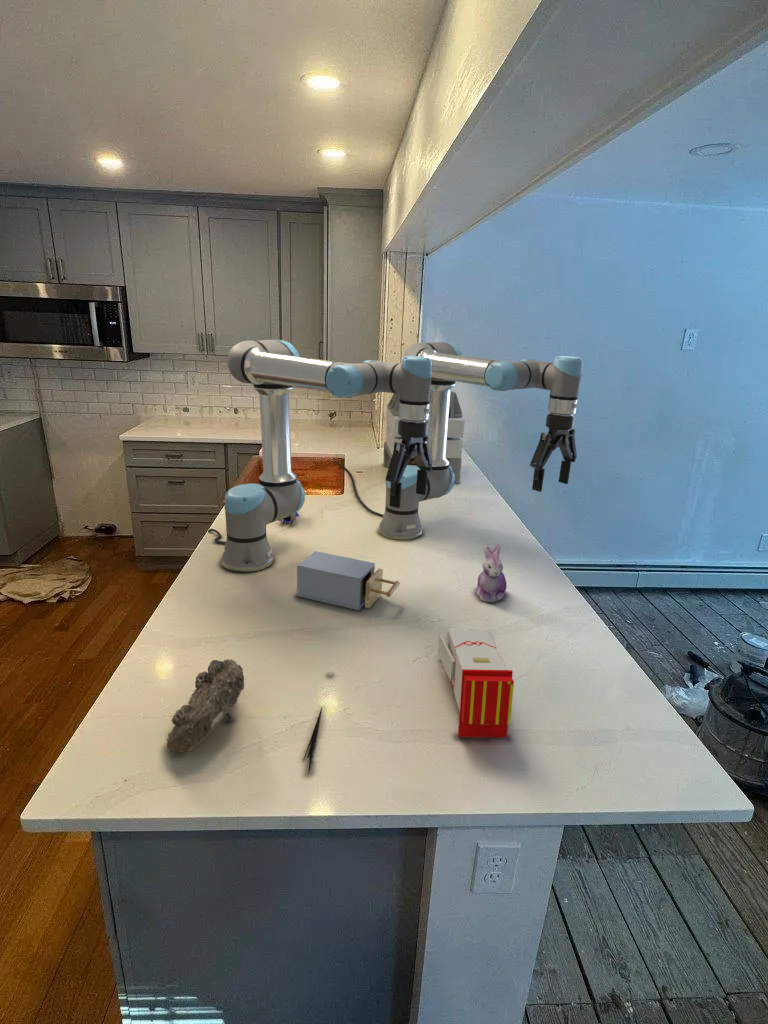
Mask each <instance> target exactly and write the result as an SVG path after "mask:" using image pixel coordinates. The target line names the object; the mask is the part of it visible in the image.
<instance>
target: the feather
mask: <svg viewBox="0 0 768 1024" xmlns="http://www.w3.org/2000/svg"><path fill="white" fill-rule="evenodd" d="M329 675H330V676H331V675H332V674H331V673H330V674H329ZM322 710H323V707H321V708H320V710H319V713H318V716H317V719H316V723H315V725H314V728H313V731H312V733H311V737H310V739H309V742H308V745H307V748H306V751H305V754H304V757H303V760H302V763H301V767H302V765H303V763H304V761H305V758H308V759H309V760H308V762H307V763H308V764H307V766H308V771H310V770H311V766H312V765H311V764H312V760H313V757H315V756H314V755H315V751H316V749H315V746H317V739H318V733H319V729H320V722H321V717H322V712H323V711H322ZM313 754H314V755H313ZM306 755H307V757H306Z"/></svg>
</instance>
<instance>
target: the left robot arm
mask: <svg viewBox="0 0 768 1024" xmlns="http://www.w3.org/2000/svg"><path fill="white" fill-rule="evenodd" d="M226 363H227V368H228V370H229V372H230V374H231V376H232V377H233V378H234V379H235V380H237V381H238V382H241V383H244V384H249V385H253V389H254V390H255V391H256V392H257V393H258V395H259V411H260V433H261V450H262V469H263V471H262V473H261V474H260V475H259V476H258V483H254V482H253V483H252V482H251V483H246V484H245V483H241V484H237V485H235V486H233V487H231V488H230V489H228V490H227V491H226V492H225V496H224V507H223V508H224V513H225V515H224V516H225V527H226V529H225V530H226V531H225V532H226V540H225V541H223V540H219V539H221V538H222V534H221V533H220V531H218V530H217V529H215V528H210V529H208V530H207V532H208V533H210V532H214V533H215V534H217V536H216V537H215V538H214V542H215V543H217V544H224V548H223V552H222V555H221V565H222V566H223V567H224V568H225V569H226V570H229V571H232V572H237V573H252V572H257V571H261V570H264V569H267V568H268V567H270V566H271V565H272V564H273V563H274V553H273V549H272V548H271V546H270V542H269V540H268V537H267V525H269V524H271V523H275V522H278V520H280V519H282V520H284V519H283V518H286V517H290V516H292V515H293V514H295V513H297V512H300V510H301V509H302V508H303V506H304V504H305V500H306V492H305V489H304V487H303V486H302V483H301V482H300V481H299V480H298V478H297V474H295V473H294V471H293V470H292V447H291V445H292V444H291V443H292V442H291V419H290V417H291V416H290V415H291V414H290V392H292V391H293V389H294V388H299V389H306V390H311V391H317V392H322V393H323V392H324V393H330V394H331V395H332V396H334V397H335V398H338V399H351V398H354V397H359V396H364V395H371V394H377V393H387V394H394V393H395V394H400V403H399V418H400V419H401V420H399V421H398V434H399V435H400V436H401V437H402V441H401V443H397V442H395V444H394V451H393V455H392V458H391V461H390V465H389V467H388V468H387V471H386V475H385V482H386V481H388V482H390V483H391V487H390V506H392V507H396V508H400V502H401V485H402V483H400V480H401V478H402V475H403V473H404V471H405V468H406V466H407V464H408V461H410V460H411V459H412V457H415V460H416V462H417V464H418V467H419V469H421V470H417V483H416V493H417V494H421V495H426V485H427V471H431V470H432V459H431V453H430V448H429V436H427V433H428V422H427V421H426V420H427V419H428V416H429V412H430V409H429V402H430V389H431V379H432V361H431V359H430V358H428V357H423V356H404V357H403V356H402V357H401V362H391V361H390V362H389V361H384V360H379V359H367V360H364V361H363V362H359V363H358V362H357V363H349V362H342V361H332V360H327V359H320V358H319V359H318V358H311V357H304V356H300V354H299V351H298V350H297V348H295V347H294V345H293V344H292V343H290V342H289V341H287V340H283V339H261V340H260V339H259V340H243V341H240V342H238V343H237V344H235V345H233V347H232V348H231V349H230V350H229V353H228V356H227V361H226ZM427 461H428V462H427Z"/></svg>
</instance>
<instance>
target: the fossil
mask: <svg viewBox="0 0 768 1024" xmlns="http://www.w3.org/2000/svg"><path fill="white" fill-rule="evenodd" d="M243 670H244V669H243V667H242V665H240V664H237V662H236V661H235V660H234V659H232V658H231V659H227V658H226V659H224V660H223V661H222V660H217V659H212V660H211V661H210V663H209V665H208V666H207V671H201V672H199V673H198V674H197V675H196V676H195V680H194V684H195V685H194V687H195V689H194V690H193V693H192V694H191V697H190V698H189V700H188V704H184V705H182V706H181V707H180V709H177V710H176V711H175V713H174V715H173V716H172V718H171V723H172V724H173V727H172V730H171V731H170V732H168V734H167V738H166V741H167V742H166V745H167V749H168V750H169V751H173V752H174V753H176V754H178V753H182V752H188V751H189V752H192V751H193V750H195V748H196V747H197V746H199V744H200V743H201V742H203V741H204V740H205V739H206V738H207V737H208V736H209V735H210V734H211V733H212V732H214V730H215V729H217V727H218V726H219V724H220V722H221V721H222V720H223V719H224V718H225V716H226V717H227V719H229V720H233V717H232V715H230V714H229V710H230V709H231V708H234V706H235V704H236V703H237V702H238V699H239V697H240V695H241V693H242V691H243V690H245V689H244V688H245V675H244V671H243Z"/></svg>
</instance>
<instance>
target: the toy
mask: <svg viewBox="0 0 768 1024" xmlns="http://www.w3.org/2000/svg"><path fill="white" fill-rule="evenodd" d="M446 640H447V643H446V641H445V639H444V636H443V635H442V634H439V637H438V646H437V656H438V657H439V659H440V661H441V663H442V666H443V668H444V670H445V672H446V674H447V677H448V679H449V681H450V684H451V687H452V690H453V693H454V697H455V701H456V705H457V708H458V711H459V714H458V715H459V716H458V730H457V731H458V732H457V737H458V738H508V731H509V726H510V725H511V717H512V707H513V697H514V696H513V695H514V684H515V680H514V679H513V673H514V671H513V670H512V669H508V667H507V665H506V662H505V661H504V659H503V658H502V655H501V653H500V651H499V649H498V647H497V643H496V639H495V637H494V635H493V634H491V632H490V631H489V629H467V628H466V629H465V628H463V629H461V628H460V629H459V628H448V630H447V639H446Z"/></svg>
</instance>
